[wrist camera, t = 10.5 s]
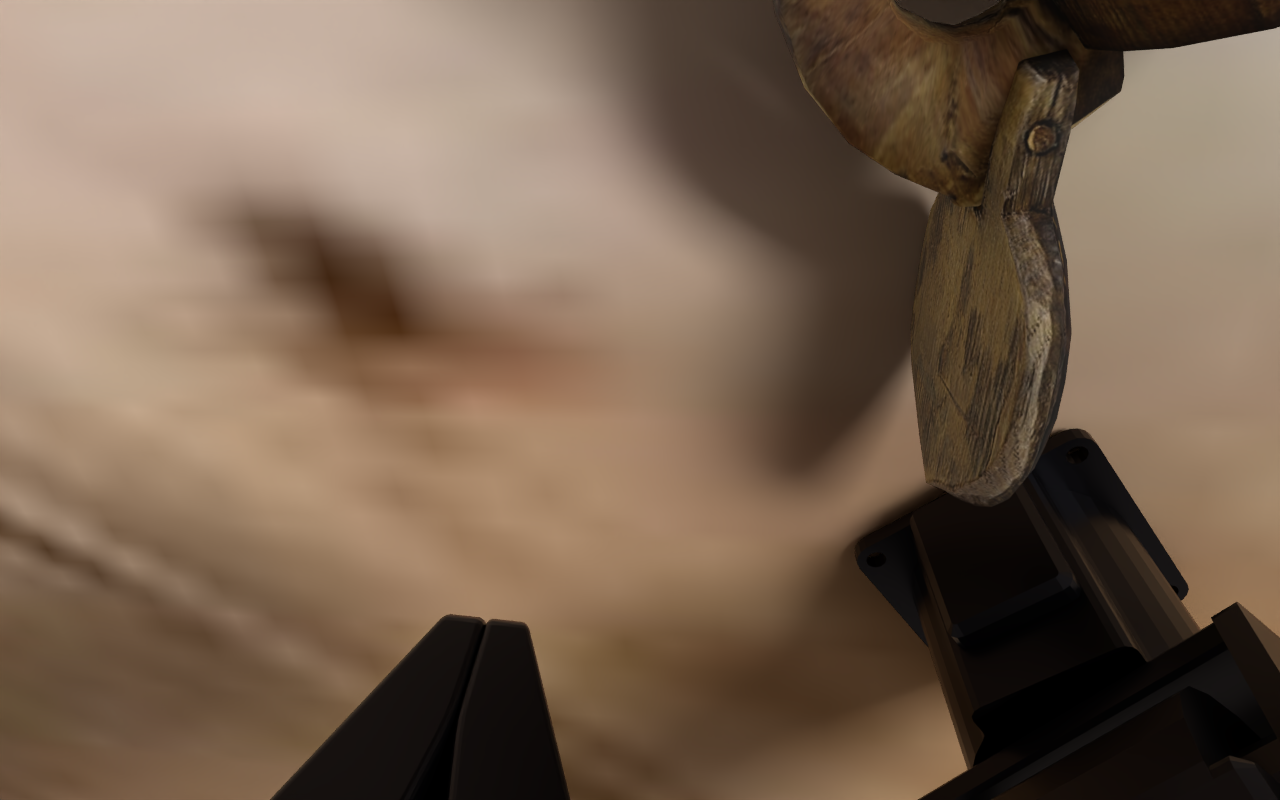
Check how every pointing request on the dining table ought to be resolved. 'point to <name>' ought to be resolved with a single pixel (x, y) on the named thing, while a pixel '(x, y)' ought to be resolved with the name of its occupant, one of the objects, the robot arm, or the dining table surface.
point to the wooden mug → (987, 189)
